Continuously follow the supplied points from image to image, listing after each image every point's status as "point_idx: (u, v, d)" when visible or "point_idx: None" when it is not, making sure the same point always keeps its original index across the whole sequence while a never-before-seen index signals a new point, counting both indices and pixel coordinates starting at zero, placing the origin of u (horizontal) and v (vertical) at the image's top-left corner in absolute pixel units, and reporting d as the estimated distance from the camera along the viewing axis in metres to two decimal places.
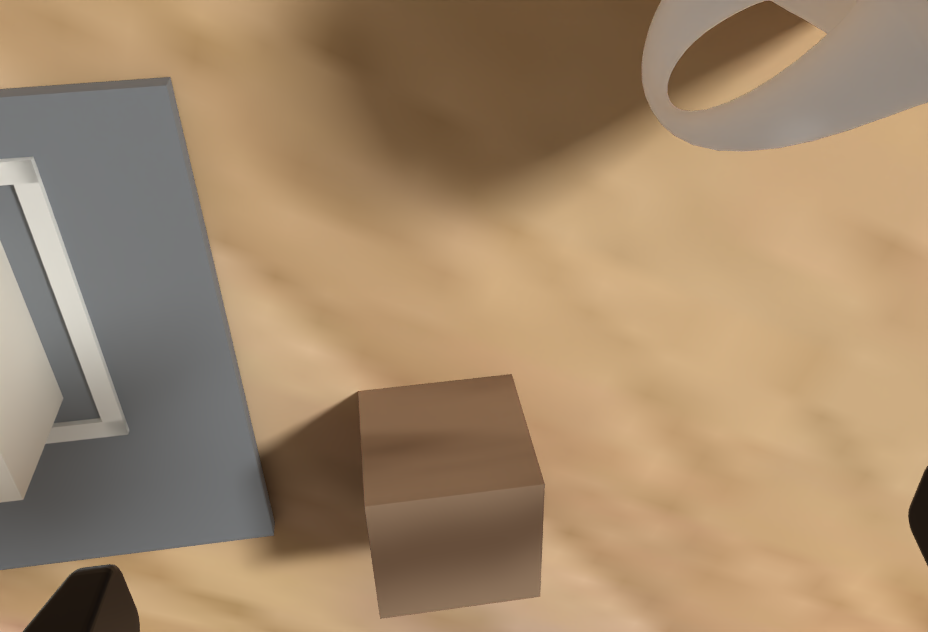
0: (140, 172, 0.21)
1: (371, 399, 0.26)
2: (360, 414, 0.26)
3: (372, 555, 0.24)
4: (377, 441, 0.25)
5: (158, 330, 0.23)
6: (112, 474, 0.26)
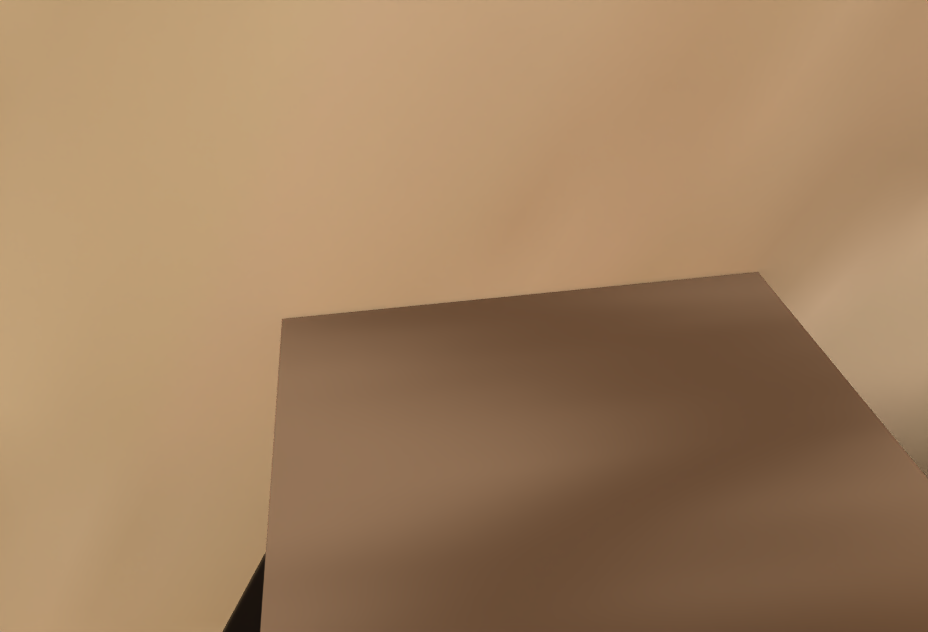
0: None
1: None
2: None
3: None
4: None
5: None
6: None
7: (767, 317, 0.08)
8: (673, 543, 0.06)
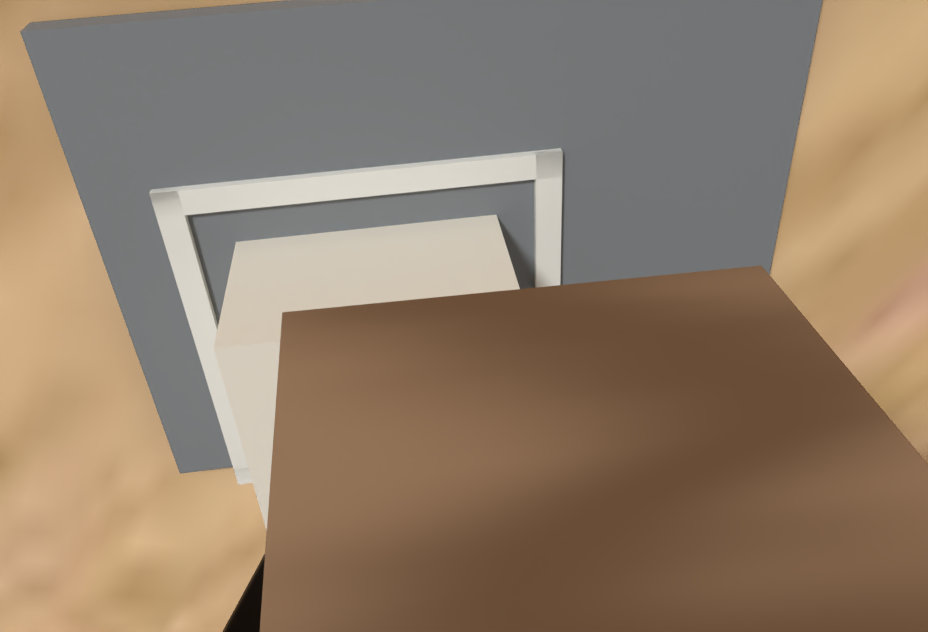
0: (151, 79, 0.17)
1: None
2: None
3: None
4: None
5: (394, 89, 0.17)
6: (634, 178, 0.19)
7: (770, 310, 0.08)
8: (677, 536, 0.06)
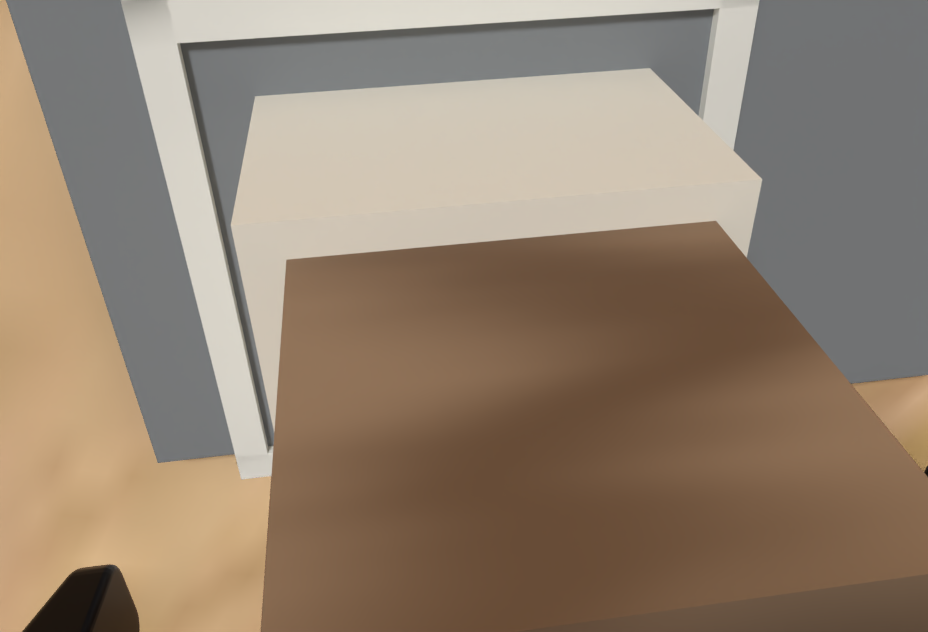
0: None
1: None
2: None
3: None
4: None
5: None
6: (856, 19, 0.13)
7: (721, 257, 0.09)
8: (625, 432, 0.07)
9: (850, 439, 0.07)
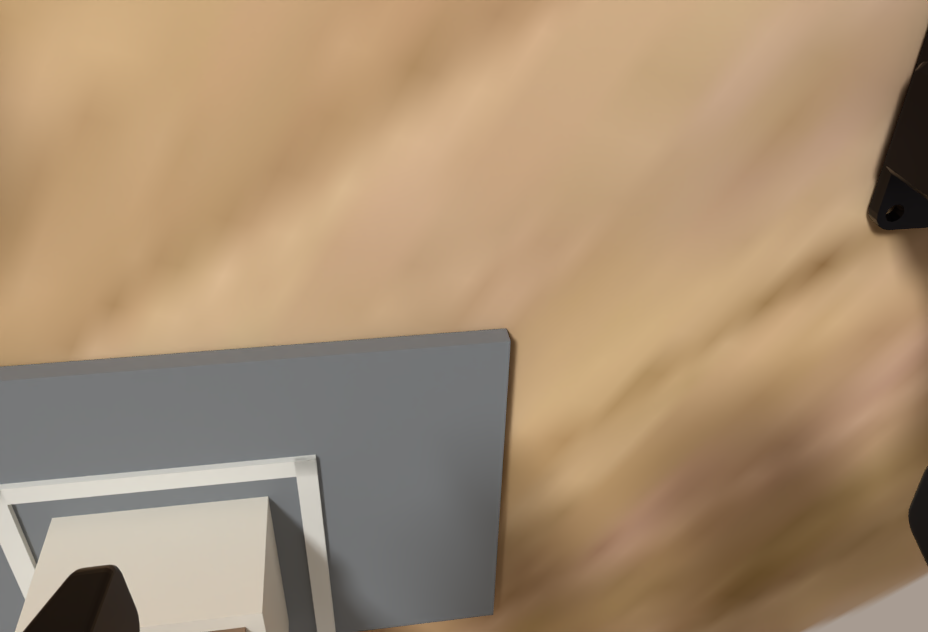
0: None
1: None
2: None
3: None
4: None
5: (176, 421, 0.22)
6: (377, 472, 0.24)
7: None
8: None
9: None
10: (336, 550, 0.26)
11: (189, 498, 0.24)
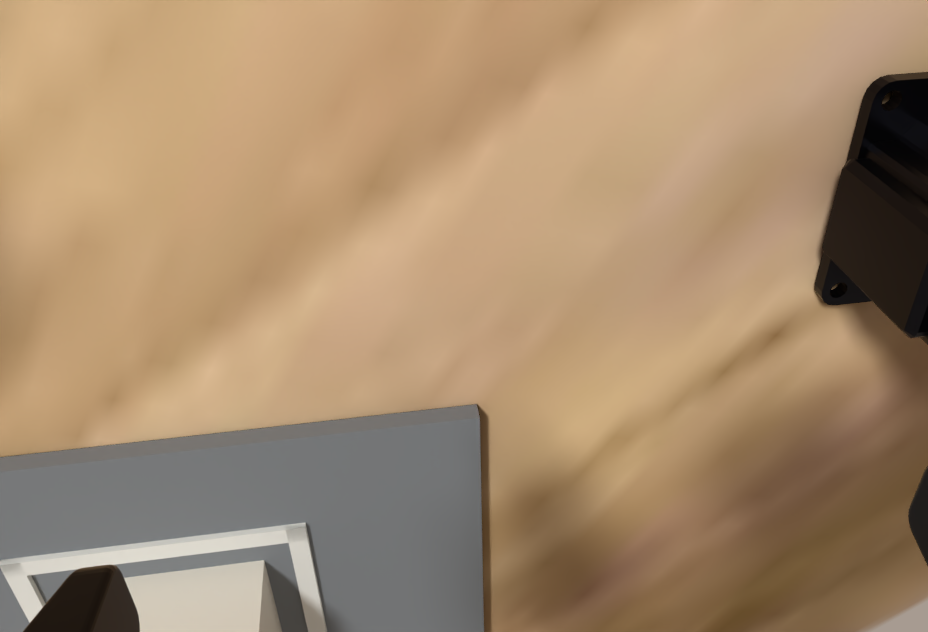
0: None
1: None
2: None
3: None
4: None
5: (175, 498, 0.24)
6: (364, 536, 0.26)
7: None
8: None
9: None
10: (331, 605, 0.28)
11: (191, 564, 0.26)
